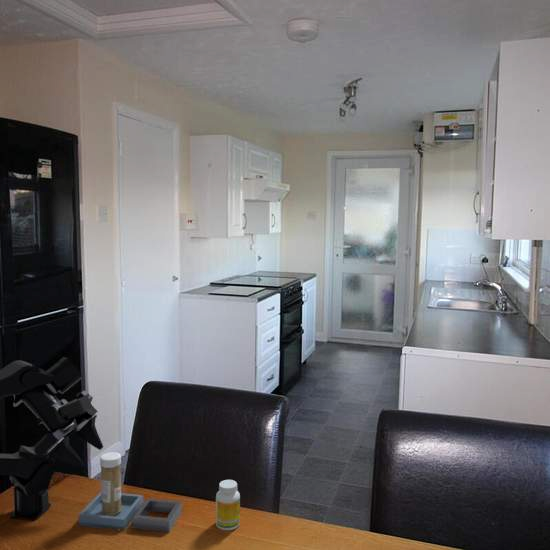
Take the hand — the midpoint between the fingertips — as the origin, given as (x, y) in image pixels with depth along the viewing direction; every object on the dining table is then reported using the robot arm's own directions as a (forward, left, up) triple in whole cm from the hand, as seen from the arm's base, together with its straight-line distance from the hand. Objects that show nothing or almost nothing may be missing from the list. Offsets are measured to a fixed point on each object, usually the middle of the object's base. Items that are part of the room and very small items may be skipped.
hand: (92, 456), depth 122 cm
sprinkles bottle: (+4, 0, -13) cm, 14 cm away
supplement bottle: (+32, +1, -14) cm, 35 cm away
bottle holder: (+16, 0, -14) cm, 21 cm away
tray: (+5, 0, -14) cm, 14 cm away
